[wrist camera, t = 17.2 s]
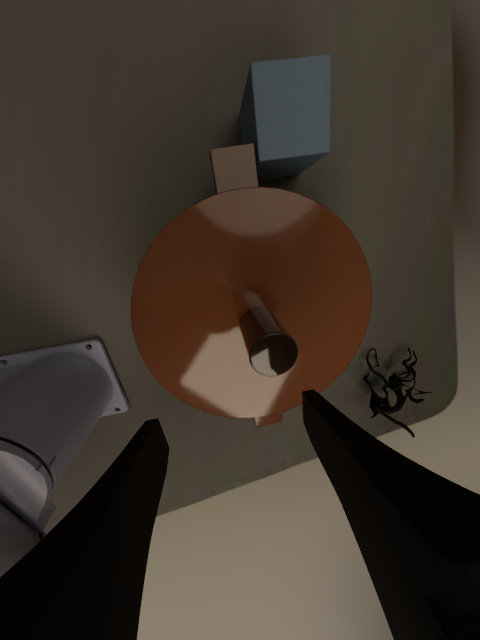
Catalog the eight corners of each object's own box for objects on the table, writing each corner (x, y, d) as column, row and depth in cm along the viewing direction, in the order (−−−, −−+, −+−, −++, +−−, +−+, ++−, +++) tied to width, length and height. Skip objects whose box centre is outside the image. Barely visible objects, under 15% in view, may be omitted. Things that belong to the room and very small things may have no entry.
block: (246, 182, 16) (259, 161, 12) (238, 115, 15) (250, 61, 10) (297, 175, 17) (330, 152, 12) (295, 108, 15) (331, 52, 11)
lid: (172, 425, 18) (157, 495, 13) (97, 212, 12) (21, 197, 7) (356, 386, 18) (406, 439, 14) (368, 172, 13) (461, 133, 8)
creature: (371, 329, 24) (335, 393, 24) (423, 341, 18) (376, 423, 19) (417, 358, 26) (383, 417, 26) (474, 377, 21) (432, 450, 21)
